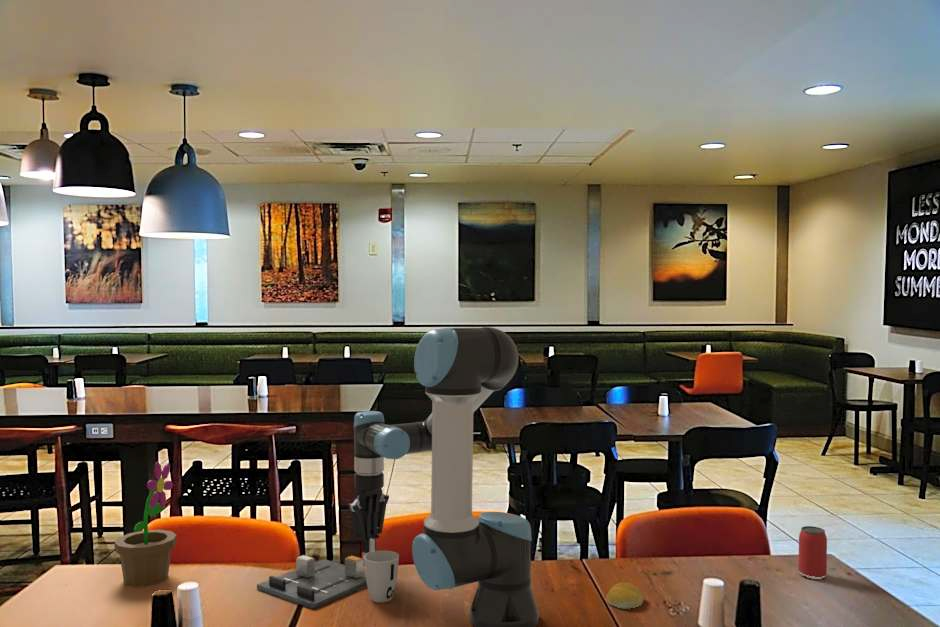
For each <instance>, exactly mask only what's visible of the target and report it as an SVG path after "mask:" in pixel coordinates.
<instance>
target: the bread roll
mask: <svg viewBox="0 0 940 627" xmlns="http://www.w3.org/2000/svg"><path fill="white" fill-rule="evenodd" d="M605 601H606V603H607V604H608V605H610V606H611V607H614V606H615V607H614V608H616V607H617V609H620V608H621V609H623V610H632V609H631V608H633V609H637V608H636V607H638V608H640V607H641V606H642V604H643V602H644V595H643V592H642V591H641V590H640V588H639V587H637V586H636V585H635V584H633V583H629V582H619V583H616V584H614V585H613V586H612V587H610V589H609V591H608V593H607V594H606V597H605ZM639 606H640V607H639Z"/></svg>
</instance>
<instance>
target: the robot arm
mask: <svg viewBox="0 0 940 627" xmlns="http://www.w3.org/2000/svg"><path fill="white" fill-rule="evenodd" d="M413 360H414V361H413V364H414V365H413V368H414V373H415V374H416V376H415V378H416V379H417V381H418V383H419V384H420V385H422V386H424V387H425V389H424V390H425V391H424V392H425V394H426V395H427V397H428V398H430V400H431V401H432V404H431V405H432V406H431V407H432V410H431V413H430V415H429V416H428V417H427V418H426V419H425V420H424V421H415V422H409V423H408V422H407V423H397V424H396V423H395V424H385V418H384V413H383V412H381V411H376V410H365V411H359V412H356V413H355V415H354V418H353V419H354V421H353V444H354V446H353V450H354V452H353V454H354V455H353V456H354V459H353V460H354V461H353V463H354V464H353V467H354V469H353V470H354V472H355V473H354V474H353V487H354V488H355V491H356V493H355V497H354V498H355V499H354V501H353V502H352V503H351V502H349V503H348V505H347V508H348V510H349V511H350V514H351V520H352V526H353V531H354V535H355V538H356V539H358V540H361V552H362V559H363V565H365V560H364V556H365V555H366V554H368V553H370V552H374V551H377V550H376V549H377V539H380V536H381V535H380V534H382V533H383V529H384V522H385V516H386V510H387V509H386V508H387V504H388V501H389V499H390V496H389V495H388V494H384V493H383V487H384V486H385V485H384V484H385V474H384V471H385V460H384V459H388V460H399V459H402V458H403V457H404V456H406V455H410V454H411V455H412V454H417V453H418V454H419V453H427V452H431V483H430V484H431V488H430V489H431V495H430V496H431V498H430V499H431V500H430V501H431V502H430V504H431V505H430V506H431V507H430V514H429V515H428V516H427V517H426V518H424V520H423V532H422V533H419V534H418V535H416V536H415V537H414V539H413V541H412V547H411V548H412V549H411V552H412V560H413V564H414V567H415V569H416V572H417V574H418V576H419V578H420V580H421V581H422V583H424V585H425V586H426V587H427V588H428V589H430V590H432V591H443V590H453V589H454V588H458V587H461V586H465V585H470V584H473V583H476V582H477V587H476V591H475V593H474V595H473V598H472V601H471V602H472V603H471V605H470V607H469V608H470V609H469V622H470V623H471V625H472V626H473V627H536V626H538V623H539V618H540V616H539V615H540V614H539V613H540V612H539V608H538V605H537V601H536V599H535V595H534V591H533V588H532V582H531V581H532V580H531V579H532V570H531V569H532V541H533V538H532V529H531V527H532V526H531V524H530V522H529V521H528V519H526V518H524V517H522V516H520V515H517V514H513V513H508V512H501V511H485V512H481V513H480V514H479V515H478V518H477V517H476V516H475V515H474V514H473V473H474V471H473V465H474V463H473V462H474V459H473V457H474V413H475V411H477V410H478V408H480V407H481V405H482V404H483V403H485V401H486V400H488V398H489V397H490V396H491V395H492V393H494V392H496V391H500V390H502V389H503V388H504V387H505V386H507V384H508V383H509V382H510V381H511V380H512V379H513V377H514V375H515V374H516V372H517V369H518V366H519V352H518V348H517V346H516V344H515V342H514V340H513V339H512V338H511V336H510V335H508V334H507V333H506V332H505V331H503V330H501V329H499V328H495V327H490V326H485V327H444V328H436V329H430V330H429V331H427V332H425V334H424V335H423V336H422V338H421V339H420V340H419V342H418V345H417V347H416V349H415V353H414V359H413Z"/></svg>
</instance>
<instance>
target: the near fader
mask: <svg viewBox="0 0 940 627" xmlns="http://www.w3.org/2000/svg"><path fill="white" fill-rule="evenodd" d="M344 565H345V575H347V576H350V577H354V578H358V577H361V576H363V571H364V564H363V557H359V556H358V557H357V556H355V555H349V556H347V557H345V558H344Z"/></svg>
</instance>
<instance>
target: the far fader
mask: <svg viewBox="0 0 940 627" xmlns="http://www.w3.org/2000/svg"><path fill="white" fill-rule="evenodd" d="M295 561H296V562H295V563H296V564H295V566H296V567H295V568H296V569H295V570H296V574H297V575H300V576H303V577H306V578H308V577H311V576H313V575H315V564H314V563H315V558H313V557H311V556H309V555H304V554H302V555H300V556H298V557H297V558H296V560H295Z"/></svg>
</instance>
